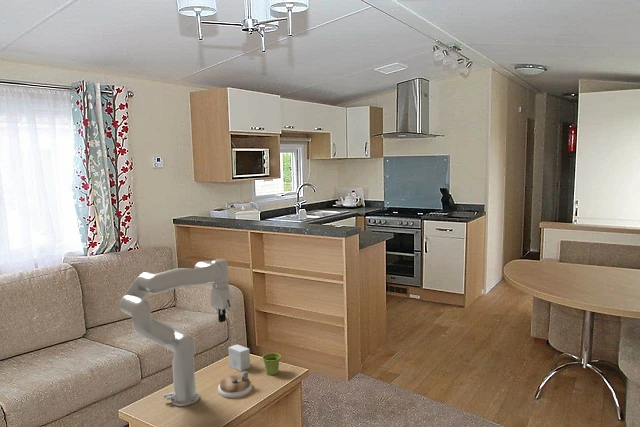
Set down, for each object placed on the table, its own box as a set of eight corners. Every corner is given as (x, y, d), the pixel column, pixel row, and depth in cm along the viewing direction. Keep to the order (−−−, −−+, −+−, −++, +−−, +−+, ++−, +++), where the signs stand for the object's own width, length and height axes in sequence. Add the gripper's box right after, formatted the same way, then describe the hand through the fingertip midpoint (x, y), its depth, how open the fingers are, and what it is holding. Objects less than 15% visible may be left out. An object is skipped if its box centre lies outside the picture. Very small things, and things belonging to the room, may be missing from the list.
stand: (221, 400, 213) (220, 396, 212) (215, 385, 228) (215, 381, 227) (255, 393, 218) (255, 389, 218) (248, 379, 233) (247, 374, 233)
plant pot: (285, 371, 241) (284, 355, 240) (273, 378, 233) (272, 362, 232) (271, 367, 246) (270, 351, 245) (259, 374, 238) (258, 357, 237)
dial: (223, 394, 214) (222, 384, 213) (217, 381, 226) (216, 371, 226) (253, 388, 219) (252, 377, 218) (245, 375, 232) (245, 365, 231)
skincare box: (250, 367, 247) (250, 348, 246) (241, 371, 242) (240, 352, 241) (238, 362, 254) (237, 343, 252) (228, 366, 249) (227, 347, 248)
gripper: (204, 284, 227) (206, 320, 229) (224, 288, 218) (226, 326, 220) (216, 280, 233) (218, 316, 235) (236, 285, 224) (238, 322, 226)
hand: (222, 321), depth 228 cm, fingers closed
